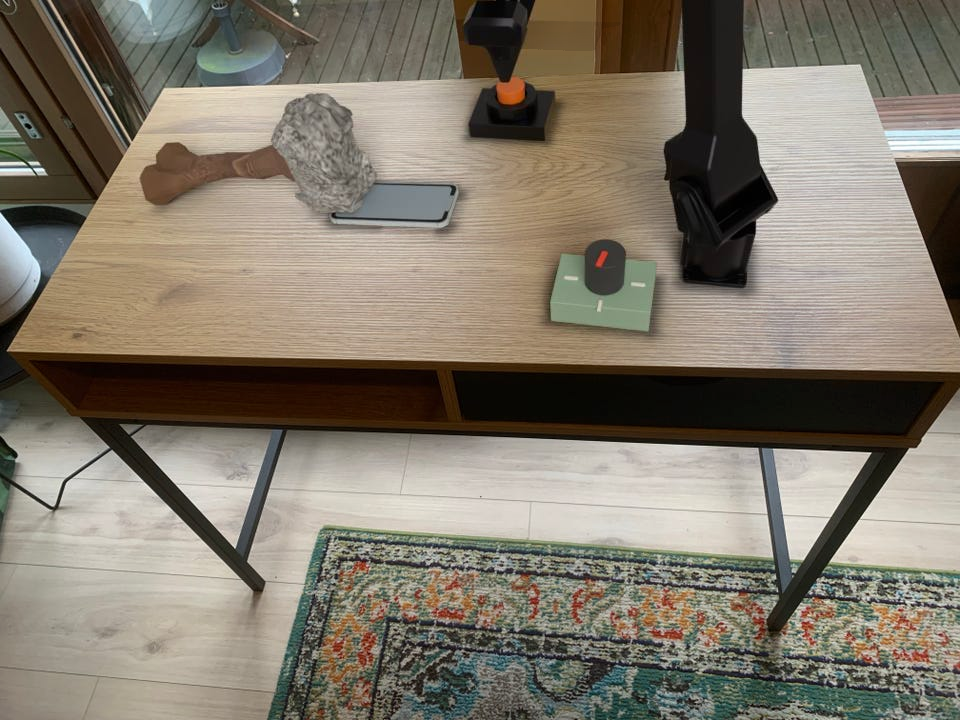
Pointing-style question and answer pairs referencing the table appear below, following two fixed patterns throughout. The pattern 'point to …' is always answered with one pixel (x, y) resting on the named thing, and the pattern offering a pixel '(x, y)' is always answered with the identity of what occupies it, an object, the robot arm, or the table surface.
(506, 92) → the button
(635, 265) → the dial panel
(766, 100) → the table surface
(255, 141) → the table surface
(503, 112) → the button base
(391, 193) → the smartphone
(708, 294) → the table surface
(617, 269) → the dial
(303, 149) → the hammer
